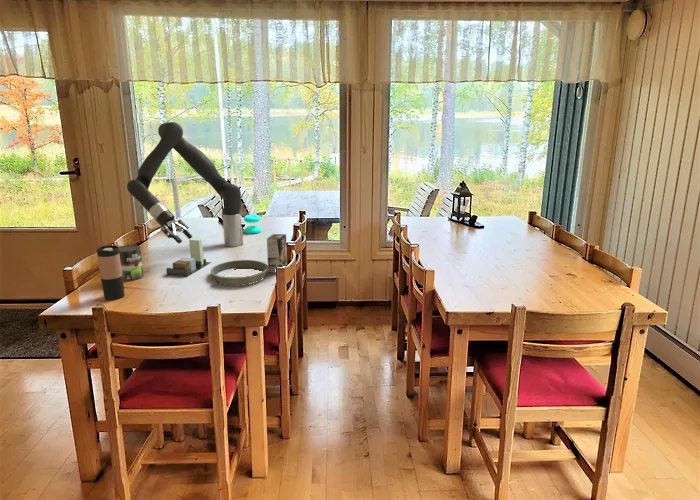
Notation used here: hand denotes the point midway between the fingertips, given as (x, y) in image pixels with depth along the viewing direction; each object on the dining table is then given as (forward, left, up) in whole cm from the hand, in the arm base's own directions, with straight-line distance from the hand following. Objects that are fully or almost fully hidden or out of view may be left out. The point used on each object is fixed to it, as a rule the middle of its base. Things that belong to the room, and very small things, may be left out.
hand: (186, 240), depth 222 cm
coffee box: (-36, +25, -13) cm, 45 cm away
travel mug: (+32, +28, -13) cm, 45 cm away
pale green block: (-4, +3, -11) cm, 12 cm away
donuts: (-45, -49, -13) cm, 67 cm away
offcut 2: (+2, +10, -11) cm, 15 cm away
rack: (0, +8, -12) cm, 15 cm away
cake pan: (-18, +27, -13) cm, 35 cm away
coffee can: (+25, +9, -13) cm, 30 cm away
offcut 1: (+5, +13, -11) cm, 18 cm away
